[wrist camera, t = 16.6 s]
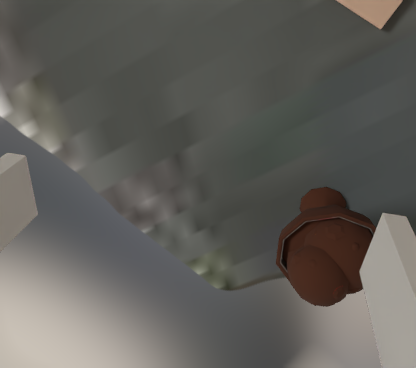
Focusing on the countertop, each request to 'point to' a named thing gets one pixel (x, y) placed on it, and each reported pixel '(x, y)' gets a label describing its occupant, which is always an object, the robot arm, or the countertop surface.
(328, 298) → the ice cream bowl
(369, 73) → the countertop surface
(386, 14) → the terracotta tile
